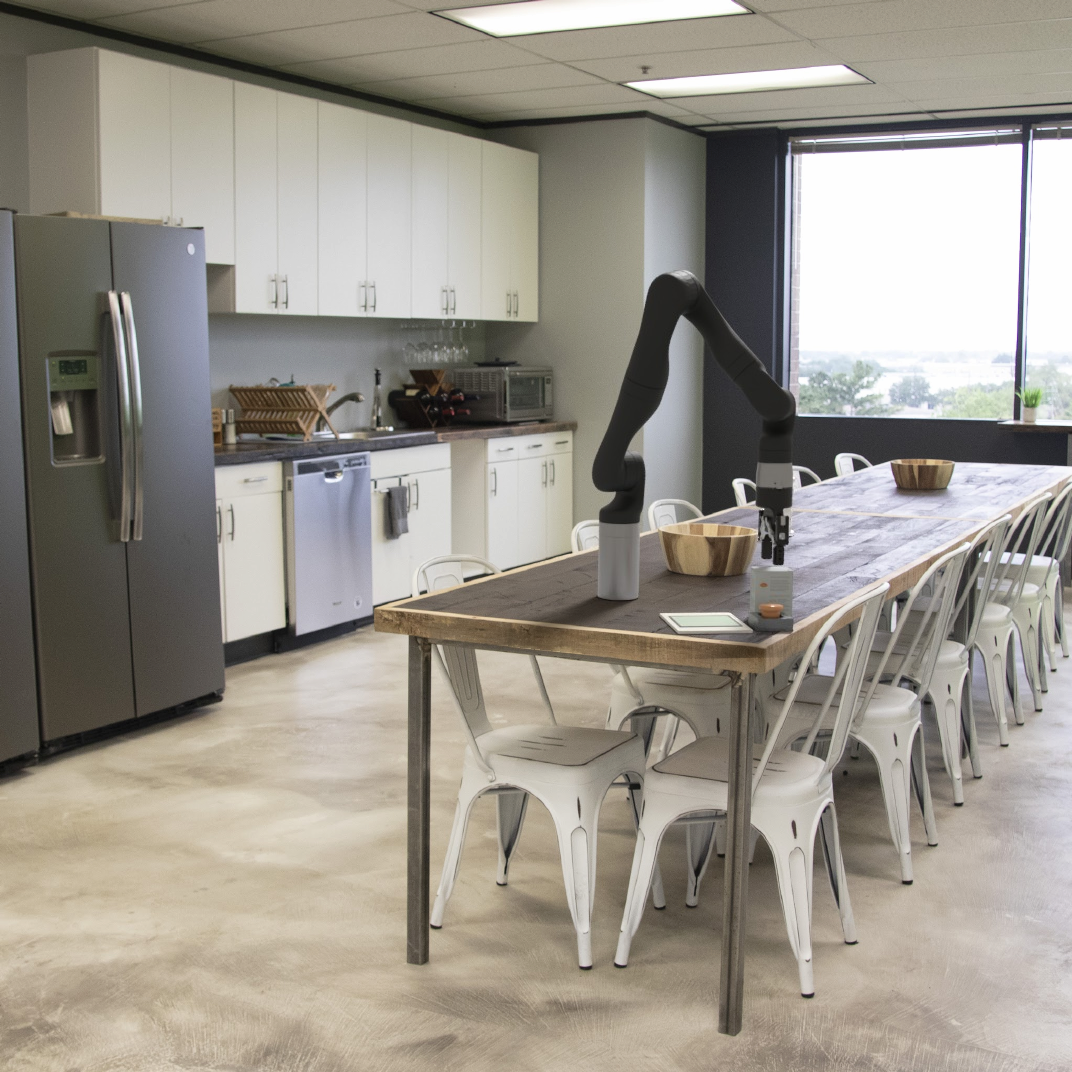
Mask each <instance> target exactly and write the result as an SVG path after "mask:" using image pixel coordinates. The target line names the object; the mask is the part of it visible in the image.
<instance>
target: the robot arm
mask: <svg viewBox="0 0 1072 1072" xmlns="http://www.w3.org/2000/svg"><path fill="white" fill-rule="evenodd" d="M642 313H643V314H642V317H641V323H640V328H639V331H638V334H637V338H636V341H635V343H634V347H633V349H632V353H631V356H630V358H629V362H628V364H627V368H626V370H625V373H624V376H623V379H622V383H621V386H620V390H619V393H618V396H617V400H616V403H615V407H614V409H613V412H612V415H611V418H610V421H609V423H608V426H607V428H606V431H605V433H604V435H603V438H602V441H601V442H600V444H599V447H598V450H597V452H596V454H595V456H594V460H593V463H592V469H591V478H592V483H593V485H594V487H595V488H596V490H598V491H600V492H603V493H604V492H605V493H615V495H614V497H613V499H612V500H611V501H610V502H608V504H606V505H605V506H603V507H601V508H600V509H599V512H598V554H597V555H598V556H597V557H598V559H597V560H598V561H597V562H598V563H597V564H598V566H597V597H598V598H599V599H603V600H611V601H630V600H636V599H637V598H639V589H640V587H639V584H640V583H639V582H640V546H641V545H640V544H641V543H640V541H641V540H640V538H641V536H640V535H641V514H642V513H643V512H642V511H643V509H644V503H645V491H646V490H645V488H646V475H647V474H646V473H647V472H646V465H645V464H646V463H645V461H644V458H643V456H642V455H641V454H640V453H639V452H638V451H636V450H633V449H628V448H629V446H630V443H631V442H632V440H633V439H634V437H635V436H636V435H637V433H638V432H639V431H640V430H641V428H642V427H644V426H645V424H646V423H647V422H648V421H649V420H650V419H651V418H652V416H653V415H654V414H655V413H656V411H657V410H658V409H659V407H660V405H661V402H662V400H663V397H664V394H665V391H666V388H667V385H668V382H669V376H670V344H671V340H672V338H673V335H674V332H675V329H676V327H677V323H678V322H679V320H680V317H681V316H683V318H685V320H687V321H688V322H690V324H692V325H693V326H694V327H695V329H696V330H697V331H698V332H699V333H700V335H701V336H702V338H703V339H704V341H705V343H706V345H707V348H708V349H709V351H710V354H711V356H712V358H713V360H714V361H715V363H716V364H717V366H718V367H719V368H720V369H721V371H722V372H723V373H724V374H725V375H726V376H727V377H728V378H729V379H730V381H732V383H733V384H734V385H735V386H736V387H737V388H738V389H739V390H740V391H741V392H742V394H743V396H745V398H746V399H747V401H748V402H749V404H750V405H751V407H752V408H753V409H754V410H755V411H756V413H757V414H758V415H759V416H760V417H761V418H762V425H761V435H760V437H759V439H758V444H757V445H758V446H757V465H756V472H755V507H757V508H759V509H758V524H757V530H758V535H757V537H758V538H759V539H760V543H761V544H760V545H761V547H760V548H761V549H760V551H761V552H760V558H761V559H762V560H772V566H783V565H784V564H785V548H786V547H787V546H789V543H790V537H789V516H784V514H783V509H784V508H790V507H792V508H793V504H792V499H793V497H794V496H793V494H794V492H793V490H794V486H793V485H794V483H793V477H794V470H793V469H794V468H793V453H794V452H793V449H794V448H793V437H794V430H795V422H796V415H797V412H796V411H797V402H796V398H795V395H794V394H793V393H792V391H790V390H789V389H787V388H785V387H781V386H780V385H779V384H778V383H777V382H776V381H775V379H774V378H773V377H772V376H771V375H770V374H769V373H768V372H767V368H766V366H765V365H764V363H763V362H762V361H761V360H760V359H759V357H758V356H757V355H756V354H754V353H755V352H753V351H752V350H751V348H749V347H748V345H747V344H746V343H745V342H744V340H742V339H741V337H740V336H739V335H738V334H737V333H736V332H735V330H734V329H733V328H732V327H731V325H730V324H729V323H728V321H727V320H726V319H725V317H724V316H723V315H722V313H721V312H720V310H719V309H718V307H717V306H716V304H715V303H714V302H713V300H712V298H711V296H709V294H708V293H707V291H706V289H705V288H704V286H703V284H702V283H701V281H700V280H699V279H698V278H697V276H696V275H694V273H692V272H691V271H689V270H686V269H685V270H684V269H677V270H675V269H674V270H671V271H668V272H667V271H666V272H664V273H661V274H659V275H658V276H656V277H655V278H654V279H653V281H652V282H651V283H650V285H649V287H648V290H647V294H646V298H645V303H644V308H643V312H642ZM760 508H764V509H760Z"/></svg>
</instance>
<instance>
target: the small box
mask: <svg viewBox="0 0 1072 1072" xmlns="http://www.w3.org/2000/svg"><path fill="white" fill-rule="evenodd" d="M749 581H750V585H749V588H750V589H749V612H762V611H761V610H759V605H760V604H765V603H772V604H780V605H783V611H780V612H784V613H785V614H787V615H789V616H790V617H792V618H793V593H794V570H793V569H791V568H789V567H788V566H750V580H749Z"/></svg>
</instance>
